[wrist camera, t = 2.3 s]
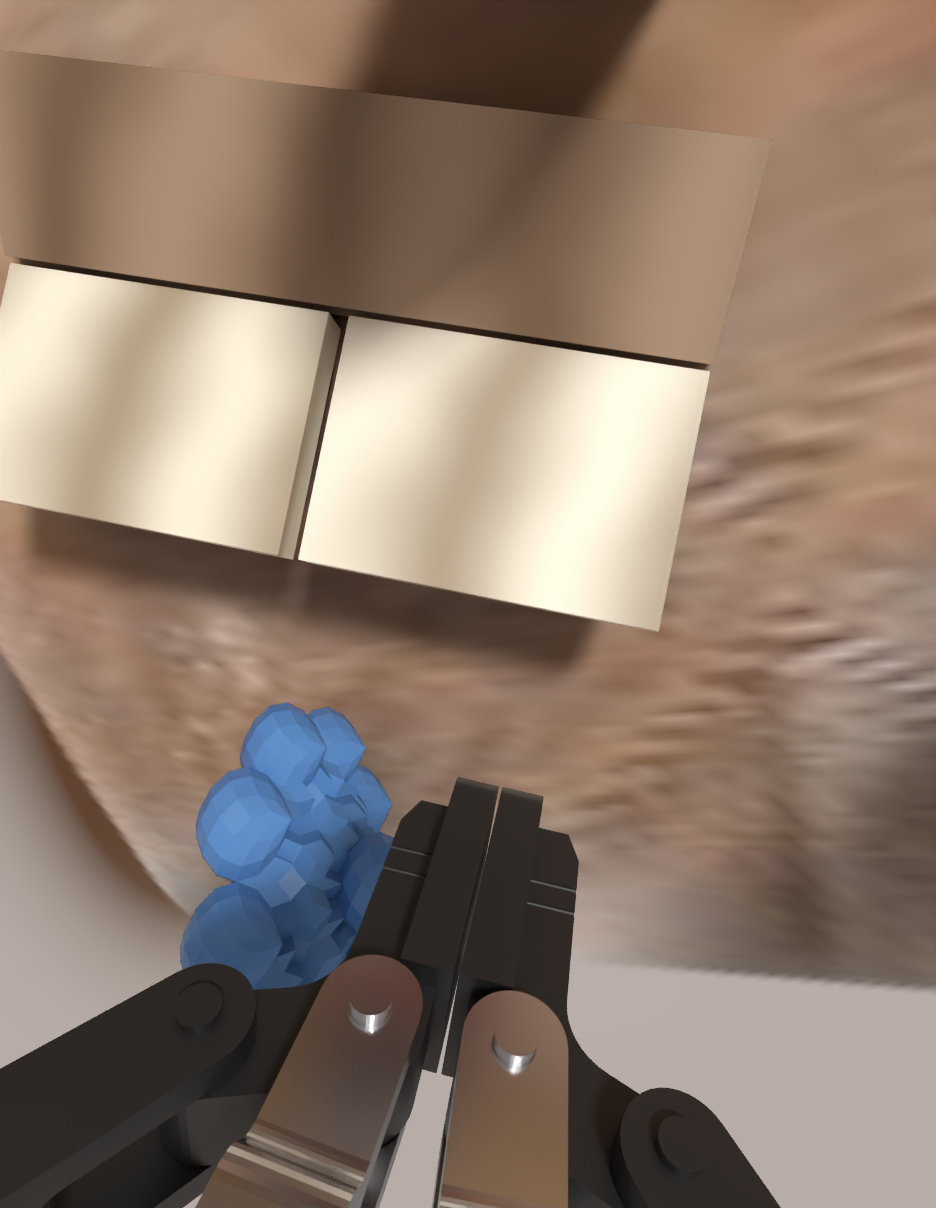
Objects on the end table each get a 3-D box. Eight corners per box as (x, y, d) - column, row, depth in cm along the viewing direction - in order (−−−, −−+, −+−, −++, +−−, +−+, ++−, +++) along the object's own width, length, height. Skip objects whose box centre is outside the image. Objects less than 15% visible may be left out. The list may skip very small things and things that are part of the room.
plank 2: (701, 386, 20) (710, 371, 19) (652, 631, 20) (658, 631, 19) (360, 332, 22) (349, 315, 21) (312, 563, 22) (297, 559, 20)
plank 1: (341, 329, 22) (328, 312, 21) (292, 559, 22) (277, 555, 20) (38, 282, 23) (10, 262, 22) (-9, 499, 23) (-40, 492, 22)
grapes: (500, 874, 31) (431, 1207, 20) (356, 881, 33) (226, 1187, 22) (418, 636, 26) (275, 909, 16) (256, 661, 28) (35, 918, 18)
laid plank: (765, 144, 18) (773, 139, 17) (705, 368, 20) (709, 376, 19) (3, 55, 20) (-32, 46, 19) (35, 264, 23) (7, 266, 22)
